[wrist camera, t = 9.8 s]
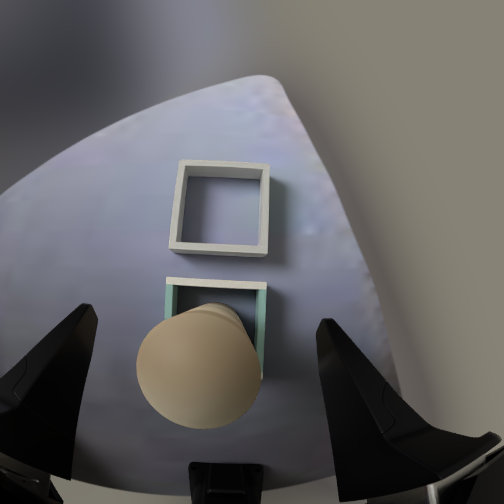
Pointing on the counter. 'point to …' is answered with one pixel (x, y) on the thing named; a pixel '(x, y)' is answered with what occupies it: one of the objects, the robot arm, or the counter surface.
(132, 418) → the counter surface
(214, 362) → the peg
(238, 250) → the collar
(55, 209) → the counter surface
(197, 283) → the collar
